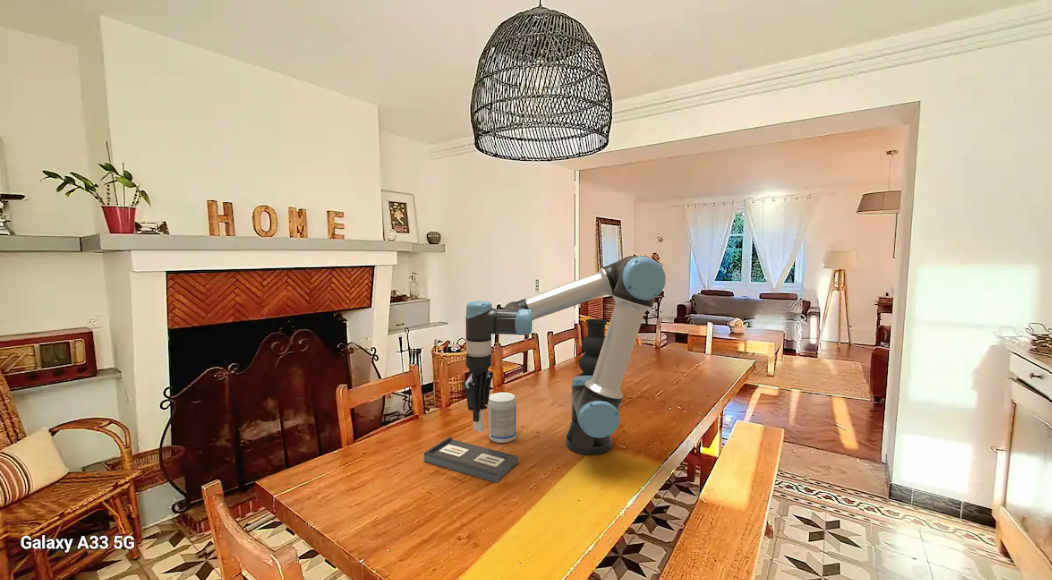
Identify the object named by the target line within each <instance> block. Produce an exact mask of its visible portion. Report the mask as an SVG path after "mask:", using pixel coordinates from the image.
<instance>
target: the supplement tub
mask: <svg viewBox="0 0 1052 580" xmlns="http://www.w3.org/2000/svg"><path fill="white" fill-rule="evenodd" d="M487 409H488V413H487V417H488V438H489V439H490V440H491V442H494V443H498V444H499V443H500V444H505V443H510V442H512V441H514V440H516V438H517V400H516V395H515V394H513V393H510V392H505V391H504V392H495V393H492V394H489V401H488V405H487Z"/></svg>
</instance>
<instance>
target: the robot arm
mask: <svg viewBox="0 0 1052 580" xmlns="http://www.w3.org/2000/svg"><path fill="white" fill-rule="evenodd" d="M666 278H667V277H666V273H665V270H664V268H663V267H662V265H661V264H660V263H659V262H658V261H657V260H655V259H653V258H650V257H649V256H643V255H642V256H641V255H640V256H639V255H630V256H626V257H623V258H620V259H619V260H617V261H615V262H612V263H610V264H608V265H605V266H603V267H601V268H600V269H599V271H598V272H595V273H592V274H589V275H587V276H583V277H581V278H578V279H576V280H572V281H570V282H567V283H565V284H562V285H559V286H556V287H552V288H551V289H547V290H545V291H542V292H539V293H537V294H534V295H531V296H528V297H525V298H523V299H520V300H518V301H511V302H509V303H507V304H506V305H505V306H504V307H503V308H493V306H492V303H491V301H488V300H487V301H486V300H485V301H484V300H473V301H469V302H468V303H467V304H466V308H465V309H466V310H465V353H466V355H465V367H466V368H467V369H468V374H467V377H468V378H467V380H463V382H462V385H463V387H464V389H465V397H466V403H467V408H468V411H472V421H473V422H472V423H473V427H472V430H473V431H474V432H479V433H483V432H484V429H485V428H484V424H485V423H484V422H485V421H484V419H485V412H484V411H485V410H487V409H488V401H489V396H490V393H491V392H490V391H491V383H492V379H493V376H494V372H492V371H489V368H491V366H492V354H491V353H492V335H507V336H508V335H510V336H511V335H515V336H522V335H525V336H526V335H531V334H532V332H533V321H534V320H537V319H540V318H543V317H546V316H548V315H552V314H554V313H557V312H562V311H564V310H565V309H569V308H572V307H575V306H578V305H580V304H583V303H587V302H589V301H591V300H595V299H597V298H600V297H603V296H610V297H612V298H613V300H614V301H615V305H614V308H613V311H612V315H611V317H610V321H609V323H608V327H607V331H606V332H605V339H604V342H603V345H602V349H601V352H600V355H599V358H598V361H597V364H596V367H595V371H594V374H593V376H578V375H577V376H578V377H577V376H574V377H573V378H572V381H571V422H570V425H569V428H568V429H567V433H566V437H565V445H566V446H567V448H568V449H569V450H571V451H573V452H574V453H577V454H580V455H581V454H582V455H588V456H589V455H590V456H594V455H595V456H596V455H597V456H598V455H603V454H606V453H608V452H609V451H611V449H612V446H613V445H612V444H613V439H612V435H613V434H614V433H615V432H616V431H617V429H618V427H619V425H620V420H621V419H620V418H621V417H620V415H621V414H620V412H619V409H620V407H621V403H622V400H623V397H624V395H623V393H622V391H621V386H622V383H623V380H624V376H625V374H626V371H627V368H628V364H629V361H630V360H631V359H630V358H631V355H632V353H633V349H634V347H635V343H636V340H637V337H638V334H639V331H640V329H641V325H642V322H643V319H644V315H645V313H646V312H647V311H649V310H652V309H653V306H654V303H655V299H656V298H657V297H658V296H659V295H660V294H661V293H662V291H664V288H665V286H666V280H667V279H666ZM486 405H487V406H486Z"/></svg>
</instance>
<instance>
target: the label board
mask: <svg viewBox="0 0 1052 580" xmlns="http://www.w3.org/2000/svg"><path fill="white" fill-rule="evenodd" d="M448 444H449V445H453V446H457V447H461V448H465V449H468V450H469V451H468V452H467V453H465V454H464V455H462V456H461V457H456V456H452V455H449V454H445V453H442V452H439V450H441V449H442V448H444V447H445V446H447V445H448ZM482 453H483V454H487V455H491V456H495V457H499V458H502V459H505V460H504V461H503V462H502V463H501V464H500V465H499V466H497V467H492V466H489V465H485V464H481V463H478V462H474V461H473V460H474V459H476V458H477V457H478V456H480V455H481V454H482ZM423 462H424V463H428V464H432V465H434V466H438V467H441V468H444V469H449V470H451V471H455V472H458V473H462V474H465V475H468V476H472V477H475V478H479V479H482V480H484V481H485V480H486V481H489V482H492V483H495V484H497V483H498V482H499V481H500V480H501V479H502V478H503V477H505V475H506V474H508V473H509V472H510V471H511V470H512V469H513V468H514V467H515V466H516V465H517V464H519V456H518V455H515V454H511V453H507V452H503V451H499V450H496V449H492V448H488V447H483V446H479V445H476V444H471V443H468V442H464V441H460V440H458V439H457V440H456V439H453V436H449V437H446V438H445V439H444V440H442V441H440V442H439V443H437V444H435V445H434V446H432V447H431V448H429V449H428V450H426V451H425V452H423Z"/></svg>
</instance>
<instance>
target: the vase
mask: <svg viewBox="0 0 1052 580" xmlns="http://www.w3.org/2000/svg"><path fill="white" fill-rule="evenodd" d="M584 321H585V323H586V326H587V335H585V337H584V338H583V340H582V342H581V348H582V350H583V352H584V353H583V354H582V355H581V356H580V357H579V360H578V367H579V369H580V370H581V371H582V372H581V373H579V374H578V375H576V377H578V376H593V374H594V371H595V367H596V364H597V361H598V358H599V355H600V352H601V349H602V345H603V342H604V339H605V336H606V326H607V324H608V320H607V319H602V318H587V319H585V320H584Z"/></svg>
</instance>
